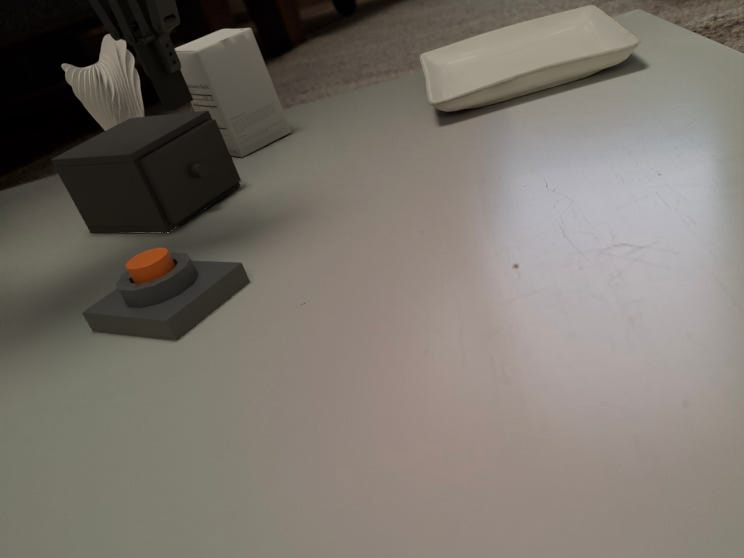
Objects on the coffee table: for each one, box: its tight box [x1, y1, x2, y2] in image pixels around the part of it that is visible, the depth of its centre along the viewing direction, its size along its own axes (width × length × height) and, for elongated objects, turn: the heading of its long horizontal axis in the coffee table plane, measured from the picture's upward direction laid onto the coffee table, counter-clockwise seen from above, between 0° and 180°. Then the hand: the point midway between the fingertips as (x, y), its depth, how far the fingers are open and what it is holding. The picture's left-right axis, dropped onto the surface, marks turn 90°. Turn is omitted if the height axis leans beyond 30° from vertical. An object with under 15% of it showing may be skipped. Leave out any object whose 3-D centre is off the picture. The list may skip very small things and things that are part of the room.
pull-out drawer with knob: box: [138, 119, 242, 224], centre depth 102 cm, size 15×12×8 cm
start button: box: [125, 247, 175, 284], centre depth 78 cm, size 4×4×2 cm
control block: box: [81, 252, 251, 341], centre depth 79 cm, size 12×10×4 cm
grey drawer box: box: [50, 111, 241, 234], centre depth 103 cm, size 15×13×10 cm
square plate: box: [419, 4, 641, 112], centre depth 116 cm, size 27×27×4 cm
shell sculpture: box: [61, 33, 146, 131], centre depth 124 cm, size 8×8×18 cm
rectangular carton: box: [174, 27, 292, 158], centre depth 118 cm, size 9×9×15 cm
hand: (179, 105), depth 86 cm, fingers closed
